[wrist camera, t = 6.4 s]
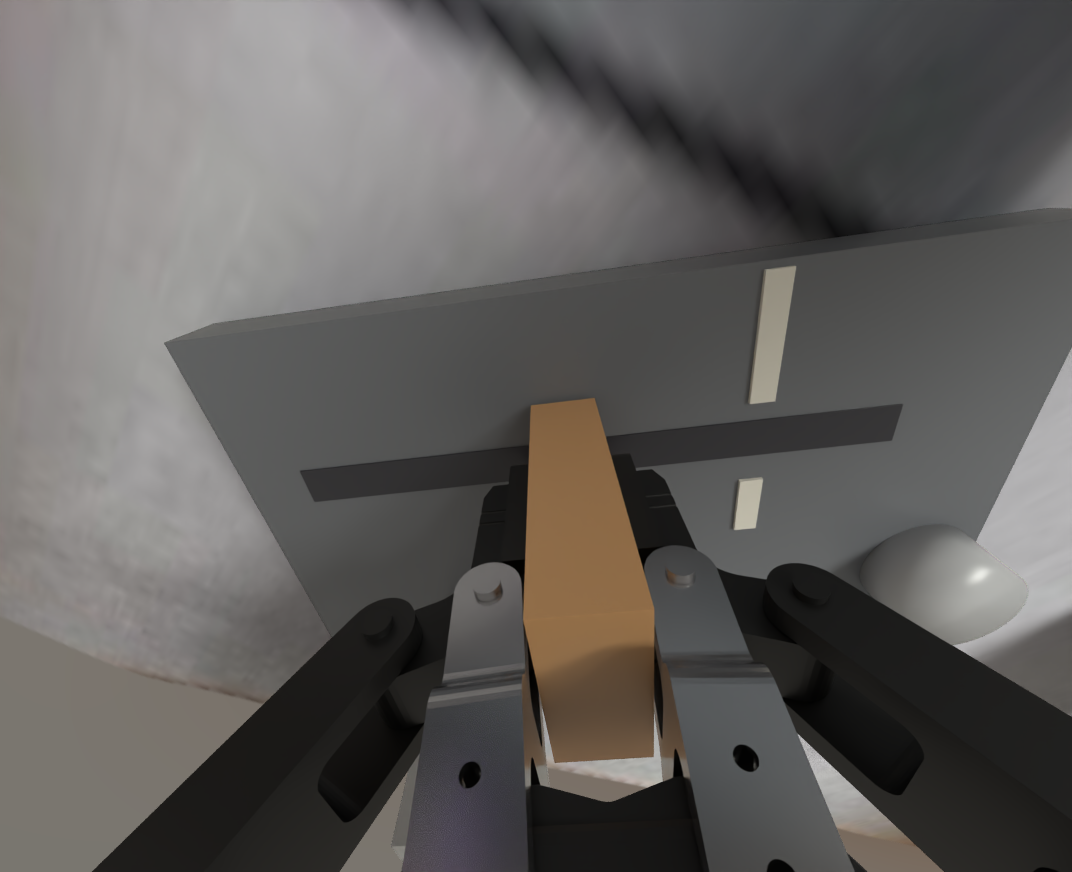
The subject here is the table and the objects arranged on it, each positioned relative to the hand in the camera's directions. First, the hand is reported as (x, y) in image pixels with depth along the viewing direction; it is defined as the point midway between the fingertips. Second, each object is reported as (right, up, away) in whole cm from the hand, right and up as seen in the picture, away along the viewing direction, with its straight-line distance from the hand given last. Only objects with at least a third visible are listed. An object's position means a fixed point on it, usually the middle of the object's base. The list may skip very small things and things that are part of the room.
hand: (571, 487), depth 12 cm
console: (+2, -2, +5) cm, 6 cm away
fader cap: (0, +1, +1) cm, 1 cm away
